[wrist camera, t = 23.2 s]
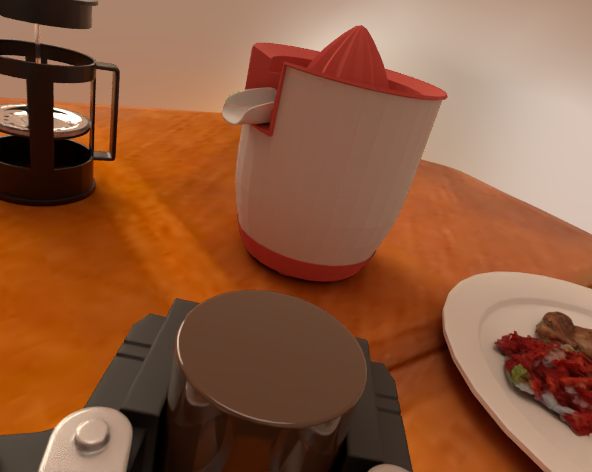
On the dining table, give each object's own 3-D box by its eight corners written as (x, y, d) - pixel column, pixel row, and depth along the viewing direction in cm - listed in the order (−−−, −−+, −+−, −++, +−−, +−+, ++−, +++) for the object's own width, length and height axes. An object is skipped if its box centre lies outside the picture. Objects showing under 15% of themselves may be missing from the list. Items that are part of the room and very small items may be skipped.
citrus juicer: (182, 212, 45) (210, -14, 36) (330, 212, 53) (383, 29, 44) (234, 311, 33) (296, 12, 24) (414, 291, 41) (509, 63, 33)
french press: (-32, 206, 37) (-69, -142, 27) (-25, 162, 44) (-52, -128, 34) (120, 205, 43) (138, -80, 33) (106, 167, 50) (116, -79, 40)
